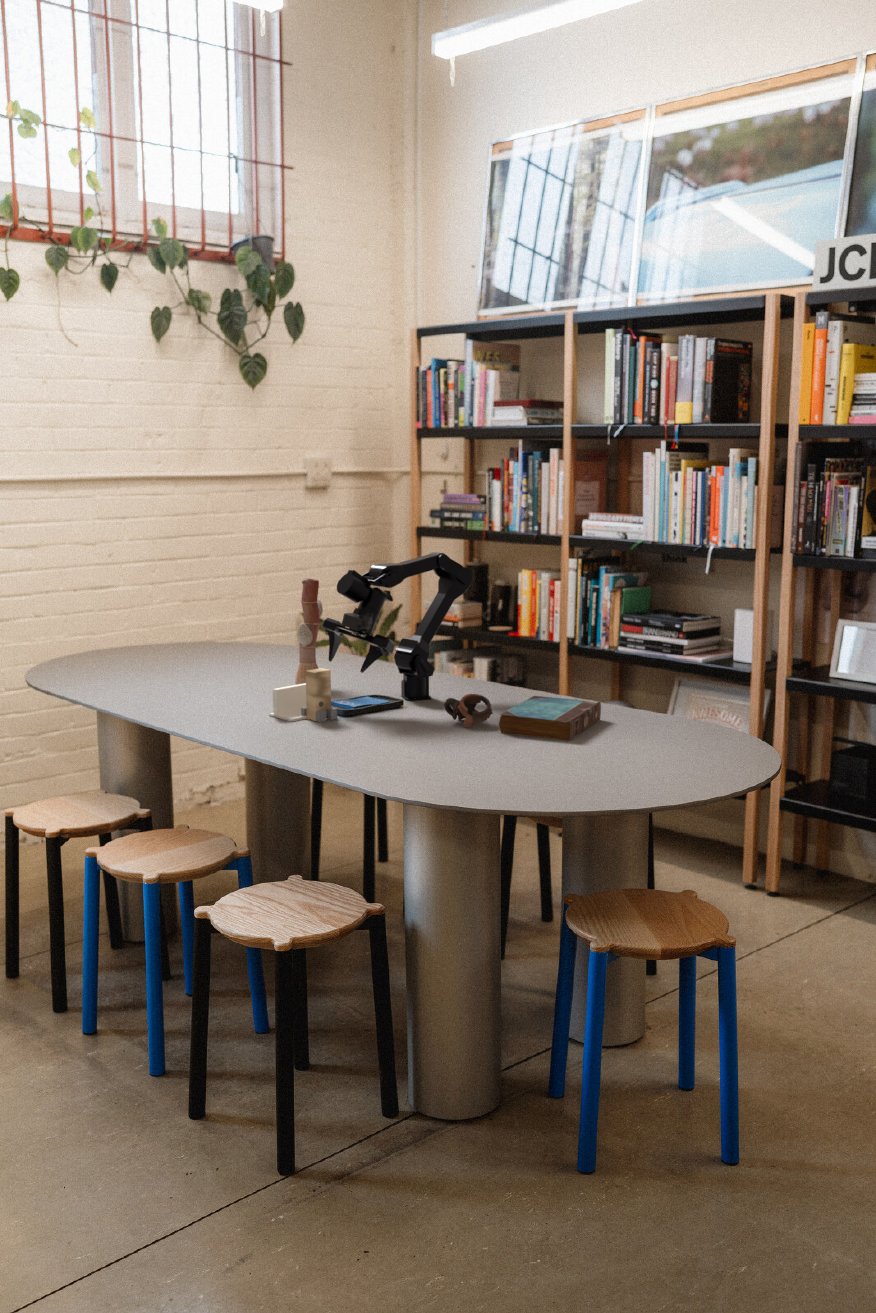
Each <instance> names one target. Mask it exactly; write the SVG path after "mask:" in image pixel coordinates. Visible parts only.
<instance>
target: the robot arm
mask: <svg viewBox="0 0 876 1313" xmlns="http://www.w3.org/2000/svg"><path fill="white" fill-rule="evenodd" d="M431 571H433V572H434V574H435V575H436V576H437V577H438V581H437V588H438V589H437V590H438V591H437V593H436V594H435V597H434V599H433V600H432V602H431V603H430V605H429V607H428V609H427V611H426V612H425V614H424V615H423V618H422V619H421V621H420V623H419V624H418V626H417V628H416V630H415V632H414V633H413V635H411V637H410V638H406V637H402V638H401V639H400V642H399V644H398V646H396V648H395V642H393V641H392V640H391V639H390V638H389V637H387V636H383V635H380V634H378V633H377V634H375V635H374V634H373V631H374V628H375V626H376V624H379V621H380V619H379V618H380V613H381V612H382V610H383V607H384V604H385V602H394V598H393V596H392V595H391V590H382V589H381V588H386V589H387V588H388V589H392V588H394V587H396V586H398V585H400V584H402V582H403V581H404V580H405V579H408V578H410V577H414V576H417V575H420V574H424V573H428V572H431ZM472 573H473V572H472V571H471V570H470V568H468V567H465V566H463V565H462V564H460V562H459V563H458V562H457V561H456V560H454V559H452V558H450V557H449V555H447V554H446V553H444V552H437V551H436V552H435V551H433V552H430V553H428V554H424V555H422V556H418V557H415V558H411V559H407V560H404V561H401V562H396V563H395V562H394V563H393V562H392V563H391V562H390V563H386V562H385V563H384V562H383V563H374V564H373V565H371V566H370V568H369V570H368V571H366V572H365V573H363V574H362V575H361V574H359V573H358V571H356V570H355V569H348V571H347V573H345V574H344V575H343V576H342V577H341V578H340V579H339V580H338V581H337V585H336V591H337V593H338V594H340V595H341V596H344V597H345V598H346V599H348V600H350V601H352V602H354V603H356V604H357V603H359V604H358V607H355V608H354V610H353V611H352V612H346V613H343V616H342V617H343V618H342V621H339V620H336V619H333V618H331V617H327V618H325V619H324V620H323V621H322V624H321V627H322V628H323V629H324V632H325V633H326V634H327V635H328V640H329V641H328V643H329V646H328V647H329V648H328V662H330V663H331V662H332V661H333V659H334V658H335V657H336V654H337V651H338V649H339V647H340V645H341V643H342V640H343V638H342V637H341V636H343V635H345V636H348V637H350V638H353V639H357V640H359V641H360V640H361V641H363V642H365V643H369V646H368V647H369V649H368V653H367V655H366V657H365V659H364V661H363V663H362V665H361V668H360V673H364V672H365V671H367V669H368V668H370V667H371V665H372V664H374V663H375V662H376V661H377V660H378V659H379V658H381V657H382V656H387V654H390V655H391V654H392V655H393V653H394V651H395V653H394V656H393V659H394V663H395V665H396V667H397V669H398V673H399V674H401V675H402V677H403V678H402V679H401V681H400V682H401V687H400V688H401V689H400V692H401V695H400V696H401V697H402V698H404V699H406V700H408V701H416V700H418V701H419V700H431V699H432V696H431V695H430V677H433V676H434V672H435V667H434V666H433V665H432V663H431V662H430V661H429V660H428V659H429V656H430V645H431V643H432V640H433V638H434V637H435V635H436V633H437V632H438V630H439V628H440V626H441V625H442V622H444V619H445V618H446V616H447V614H448V612H449V610H450V608H451V607H452V605H453V603H454V601H455V600H457V599H458V598H459V597H461V596H462V595H464V594H465V593H466V592H467V591H468V590H469V588H470V587H471V585H472V583H473V580H474V578H473V574H472ZM372 586H374V587H372ZM379 587H381V588H379Z"/></svg>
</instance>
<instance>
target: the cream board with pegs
mask: <svg viewBox="0 0 876 1313" xmlns="http://www.w3.org/2000/svg"><path fill="white" fill-rule="evenodd" d="M272 707H273V708H272V709H273V711H272V712H270V713H268V716H269V715H270V716H269V717H272V716H273V718H277V719H281V720H284V721H289V722H296V721H302V720H306V719H307V709H306V683H304V684H298V685H295V684H292V685H287V686H282V687H277V688H272ZM330 719H331V721H332V719H333V720H337V719H338V708H337V707H331V709H328V719H326V711H324V710H321V711H316V721H315V722H316V723H317V722H318V723H322V721H323V722H326V721H327V720H330ZM307 720H308V719H307Z"/></svg>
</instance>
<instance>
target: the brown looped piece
mask: <svg viewBox="0 0 876 1313" xmlns="http://www.w3.org/2000/svg"><path fill="white" fill-rule="evenodd" d="M481 702H483V703H484V704H485V706H486V707H487V708H485V709H484V710H480V711H479V710H477V709H476V706H477V704H480V703H481ZM491 705H492V704H491V701H490V700H489V699H488V698H487V697H485V696H484V695H481V694H478V693H467V694H465V695H463V696H462V697H461V698H460V700H459V699H456V698H452V697H450V698H447V699H445V702H444V704H443V708H444V710H445V711H446V713H447V714H448V715H449V716H451V717H452V719H453V721H456V719H457V720H458V721H459V722H460V721H462V720H463V719H464V721H463V727H465V728H467V729H470V728H471V727H472V725H477V724H481V723H482V722H485V721H487V720H488V719H490V718H491V715H494V712H493V710H492V708H491V707H492V706H491Z"/></svg>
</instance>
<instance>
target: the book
mask: <svg viewBox="0 0 876 1313" xmlns="http://www.w3.org/2000/svg"><path fill="white" fill-rule="evenodd" d="M601 712H602V703H601V701H597V702H594V701H590V700H582V699H571V698H564V697H563V698H561V697H550V696H541V695H533V696H531V697H529V698H528V699H525V700H524V701H522V702H520V703H518V704H516V705H515V706H512V707H511V708H509V709H507V710H505V711H503V712H501V713H500V714H499V716H500V717H499V718H500V719H499V721H498V724H499V725H498V726H499V731H500V734H505V735H506V734H508V735H516V736H517V735H518V736H525V737H534V738H535V737H536V738H545V739H555V740H563V741H564V740H565V741H571V740H573V739H574V738H576V737H578V736H579V735H580V734H582V733H583V732H584V731H586V730H588V729H589V728H590V727H592V726H593V725H594V724H596V723H597V722H599V721H601V716H602V714H601Z"/></svg>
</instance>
